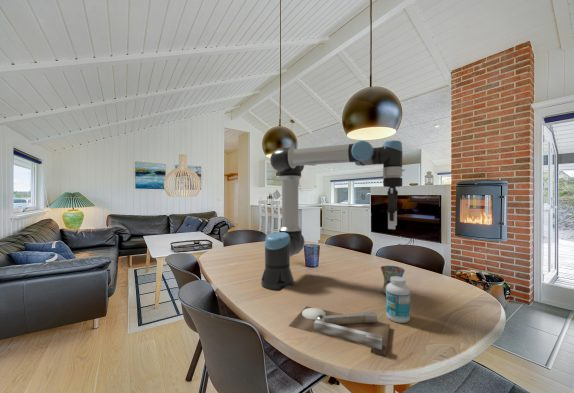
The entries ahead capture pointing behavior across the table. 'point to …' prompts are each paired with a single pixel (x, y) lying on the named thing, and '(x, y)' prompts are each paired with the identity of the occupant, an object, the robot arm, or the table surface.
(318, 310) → the rest pad
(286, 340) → the table surface
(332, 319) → the tong jaw
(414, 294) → the table surface
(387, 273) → the mug
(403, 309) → the pill bottle
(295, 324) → the board
